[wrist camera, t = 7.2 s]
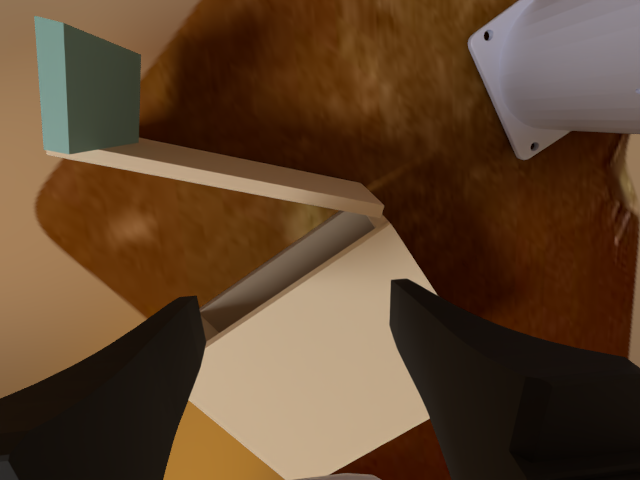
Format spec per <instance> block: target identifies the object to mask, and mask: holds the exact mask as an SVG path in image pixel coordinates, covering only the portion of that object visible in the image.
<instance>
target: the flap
mask: <svg viewBox="0 0 640 480" xmlns="http://www.w3.org/2000/svg"><path fill="white" fill-rule="evenodd" d="M34 17H35V30H36V45H37V59H38V73H39V88H40V102H41V116H42V129H43V144H44V150H46V153H47V155H51V156H56V157H61V158H66V159H72V160H77V161H82V162H88V163H93V164H98V165H103V166H109V167H114V168H119V169H124V170H130V171H135V172H140V173H146V174H151V175H156V176H161V177H167V178H172V179H177V180H183V181H188V182H193V183H198V184H204V185H209V186H214V187H220V188H225V189H230V190H235V191H241V192H246V193H251V194H257V195H262V196H267V197H272V198H278V199H283V200H288V201H293V202H299V203H304V204H309V205H315V206H320V207H325V208H330V209H336V210H341V211H346V212H352V213H357V214H362V215H367V216H373V217H378V218H381V216H382V212H383V209H384V205H383V204H382V203H381V202H380V201H379V200H378V199H377V198H376V197H375V196H374V195H373V194H372V193H371V192H370V191H369V190H368V189H367V188H366V187H364V186H363V185H362V184H361V183H359V182H354V181H349V180H344V179H339V178H334V177H329V176H324V175H319V174H315V173H310V172H305V171H300V170H295V169H290V168H285V167H280V166H275V165H271V164H266V163H261V162H256V161H251V160H246V159H241V158H236V157H231V156H227V155H222V154H217V153H212V152H207V151H202V150H197V149H192V148H187V147H183V146H178V145H173V144H168V143H163V142H158V141H153V140H148V139H143V138H139V109H140V68H141V65H140V64H141V55H140V54H138V53H135V52H133V51H131V50H128V49H126V48H123V47H121V46H118V45H116V44H113V43H111V42H109V41H106V40H104V39H101V38H99V37H96V36H94V35H92V34H89V33H86V32H84V31H82V30H79V29H77V28H74V27H72V26H70V25H67V24H65V23H62V22H57V21H53V20H49V19H45V18H41V17H37V16H34Z"/></svg>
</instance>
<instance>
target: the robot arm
mask: <svg viewBox="0 0 640 480" xmlns="http://www.w3.org/2000/svg"><path fill="white" fill-rule="evenodd" d="M485 32H488V33H489V39H488V40H487V41H486V40H485V39H484V33H485ZM468 48H469V51H470V53H471V55H472V57H473V60H474V62H475V64H476V66H477V69H478V71H479V73H480V75H481V78H482V80H483V82H484V85H485V87H486V89H487V91H488V94H489V96H490V98H491V100H492V103H493V105H494V107H495V109H496V112H497V114H498V116H499V119H500V121H501V123H502V125H503V128H504V130H505V132H506V134H507V137H508V139H509V141H510V143H511V146H512V148H513V150H514V152H515V155H516V157H517V158H519V159H522V160H527V159H529V158H531V157H532V156H534V155H535V154H537V153H539V152H540V151H542V150H543V149H545V148H546V147H548V146H549V145H551V144H552V143H554V142H555V141H557V140H558V139H560V138H561V137H563V136H564V135H566V134H567V133H569V132H570V131H589V132H608V133H628V134H640V0H518V1H517V2H516V3H514V4H513V5H511V6H510V7H509V8H507V9H506V10H505V11H503V12H502V13H501V14H499V15H498V16H497V17H495V18H494V19H492V20H491V21H490V22H488V23H487V24H486V25H484V26H483V27H482V28H480V29H479V30H478V31H476V32H475V33H473V34H472V35H471V36H470V38H469V40H468ZM532 143H534V148H533V149H532V150H531V148H530V147H531V144H532ZM389 326H390V329H391V332H392V335H393V339H394V341H395V344H396V347H397V350H398V352H399V354H400V356H401V358H402V360H403V362H404V364H405V366H406V368H407V370H408V372H409V374H410V376H411V378H412V380H413V382H414V384H415V386H416V388H417V390H418V392H419V394H420V396H421V398H422V401H423V403H424V405H425V407H426V410H427V412H428V414H429V417H430V420H431V422H432V425H433V428H434V430H435V433H436V436H437V439H438V441H439V444H440V447H441V450H442V453H443V455H444V458H445V461H446V464H447V467H448V470H449V473H450V476H451V479H452V480H640V368H639V367H638V366H636V365H635V364H634V363H632V362H631V361H630V360H628V359H627V358H625V357H621V356H616V355H611V354H605V353H600V352H595V351H589V350H584V349H579V348H574V347H570V346H566V345H562V344H558V343H554V342H550V341H547V340H543V339H539V338H536V337H532V336H529V335H526V334H523V333H520V332H517V331H514V330H511V329H508V328H505V327H503V326H500V325H497V324H495V323H493V322H490V321H488V320H485V319H483V318H480V317H478V316H476V315H474V314H472V313H470V312H468V311H466V310H463V309H461V308H459V307H457V306H456V305H454V304H452V303H450V302H448V301H446V300H444V299H443V298H441V297H439V296H437V295H436V294H434V293H432V292H430V291H429V290H427V289H425V288H424V287H422V286H420V285H418V284H417V283H415V282H413V281H411V280H409V279H407V278H406V279H394V280H391V292H390V320H389ZM205 346H206V338H205V333H204V328H203V324H202V319H201V314H200V310H199V305H198V300H197V296H188V297H179V298H177V299H176V300H174V301H172V302H171V303H169V304H168V305H167V306H165V307H164V308H162V309H161V310H160V311H158V312H157V313H155V314H154V315H153V316H151V317H150V318H148V319H147V320H146V321H144V322H143V323H141V324H140V325H139V326H137V327H136V328H134V329H133V330H131V331H130V332H128V333H127V334H125V335H124V336H122V337H121V338H119V339H118V340H116V341H115V342H113V343H111V344H110V345H108V346H107V347H105V348H103V349H102V350H100V351H98V352H97V353H95V354H93V355H91V356H89V357H88V358H86V359H84V360H82V361H81V362H79V363H77V364H75V365H73V366H71V367H69V368H67V369H65V370H63V371H61V372H59V373H57V374H55V375H53V376H50V377H48V378H46V379H45V380H42V381H40V382H38V383H36V384H34V385H31V386H29V387H27V388H24V389H22V390H20V391H17V392H15V393H13V394H10V395H8V396H5V397H3V398H1V399H0V480H163V478H164V474H165V470H166V466H167V462H168V459H169V455H170V451H171V448H172V444H173V440H174V437H175V434H176V431H177V428H178V425H179V423H180V420H181V418H182V415H183V412H184V410H185V407H186V404H187V402H188V399H189V397H190V394H191V392H192V389H193V387H194V384H195V381H196V379H197V376H198V373H199V370H200V368H201V364H202V360H203V356H204V351H205ZM293 480H381V479H379V478H377V477H376V476H374V475H365V474H350V473H344V474H336V475H327V476H319V477H310V478H302V479H293Z"/></svg>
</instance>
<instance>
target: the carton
mask: <svg viewBox="0 0 640 480" xmlns="http://www.w3.org/2000/svg"><path fill="white" fill-rule="evenodd" d="M406 278H407V279H409V280H411V281H413V282H415V283H417V284H418V285H420V286H422V287H424V288H425V289H427V290H429V291H430V292H432V293H434V294H436V292H435V291H434V289H433V288H432V286H431V284H430V283H429V281H428V280H427V278H426V277H425V275H424V274H423V272H422V271H421V269H420V268H419V266H418V264H417V263H416V261H415V260H414V258H413V257H412V255H411V254H410V252H409V251H408V249H407V248H406V246H405V245H404V243H403V241H402V240H401V238H400V237H399V235H398V234H397V232H396V231H395V229H394V228H393V226H392V225H391V223H390V222H389V221H388V220H387V219H386V218H385V217H384V216H383V215H382V216H381V218H378V217H373V216H367V215H362V214H357V213H352V212H346V211H339V212H338V213H336V214H335V215H333V216H332V217H330V218H329V219H328V220H326V221H325V222H323V223H322V224H320V225H319V226H318V227H316V228H315V229H313V230H312V231H310V232H309V233H307V234H306V235H305V236H303V237H302V238H300V239H299V240H297V241H296V242H294V243H293V244H292V245H290V246H289V247H287V248H286V249H284V250H283V251H282V252H280V253H279V254H277V255H276V256H274V257H273V258H271V259H270V260H269V261H267V262H266V263H264V264H263V265H261V266H260V267H259V268H257V269H256V270H254V271H253V272H251V273H250V274H248V275H247V276H246V277H244V278H243V279H241V280H240V281H238V282H237V283H235V284H234V285H233V286H231V287H230V288H228V289H227V290H225V291H224V292H223V293H221V294H220V295H218V296H217V297H215V298H214V299H212V300H211V301H210V302H208V303H207V304H205V305H204V306H202V307H201V308H200V309H199V310H200V314H201V319H202V324H203V328H204V333H205V338H206V346H205V351H204V356H203V360H202V364H201V368H200V370H199V373H198V376H197V379H196V381H195V384H194V387H193V389H192V392H191V394H190V397H189V399H188V400H189V401H191V402H192V403H193V404H194V405H195V406H197V407H198V408H199V409H200V410H202V411H203V412H204V413H205V414H206V415H208V416H209V417H210V418H211V419H212V420H214V421H215V422H216V423H217V424H218V425H220V426H221V427H222V428H223V429H224V430H226V431H227V432H228V433H229V434H231V435H232V436H233V437H234V438H235V439H237V440H238V441H239V442H240V443H242V444H243V445H244V446H245V447H246V448H248V449H249V450H250V451H251V452H252V453H254V454H255V455H256V456H257V457H258V458H260V459H261V460H262V461H263V462H265V463H266V464H267V465H268V466H269V467H271V468H272V469H273V470H274V471H275V472H277V473H278V474H279V475H280V476H282V477H283V478H284V479H285V480H293V479H302V478H310V477H319V476H327V475H329V474H331V473H333V472H334V471H336V470H338V469H340V468H342V467H343V466H345V465H347V464H349V463H351V462H352V461H354V460H356V459H358V458H360V457H361V456H363V455H365V454H367V453H368V452H370V451H372V450H374V449H376V448H377V447H379V446H381V445H383V444H385V443H386V442H388V441H390V440H392V439H394V438H395V437H397V436H399V435H401V434H402V433H404V432H406V431H408V430H410V429H411V428H413V427H415V426H417V425H419V424H420V423H422V422H424V421H426V420H428V419H429V418H430V417H429V414H428V412H427V410H426V407H425V405H424V403H423V401H422V398H421V396H420V394H419V392H418V390H417V388H416V386H415V384H414V382H413V380H412V378H411V376H410V374H409V372H408V370H407V368H406V366H405V364H404V362H403V360H402V358H401V356H400V354H399V352H398V350H397V347H396V344H395V341H394V339H393V335H392V332H391V329H390V326H389V320H390V292H391V280H394V279H406ZM436 295H437V294H436ZM437 296H438V295H437Z"/></svg>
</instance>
